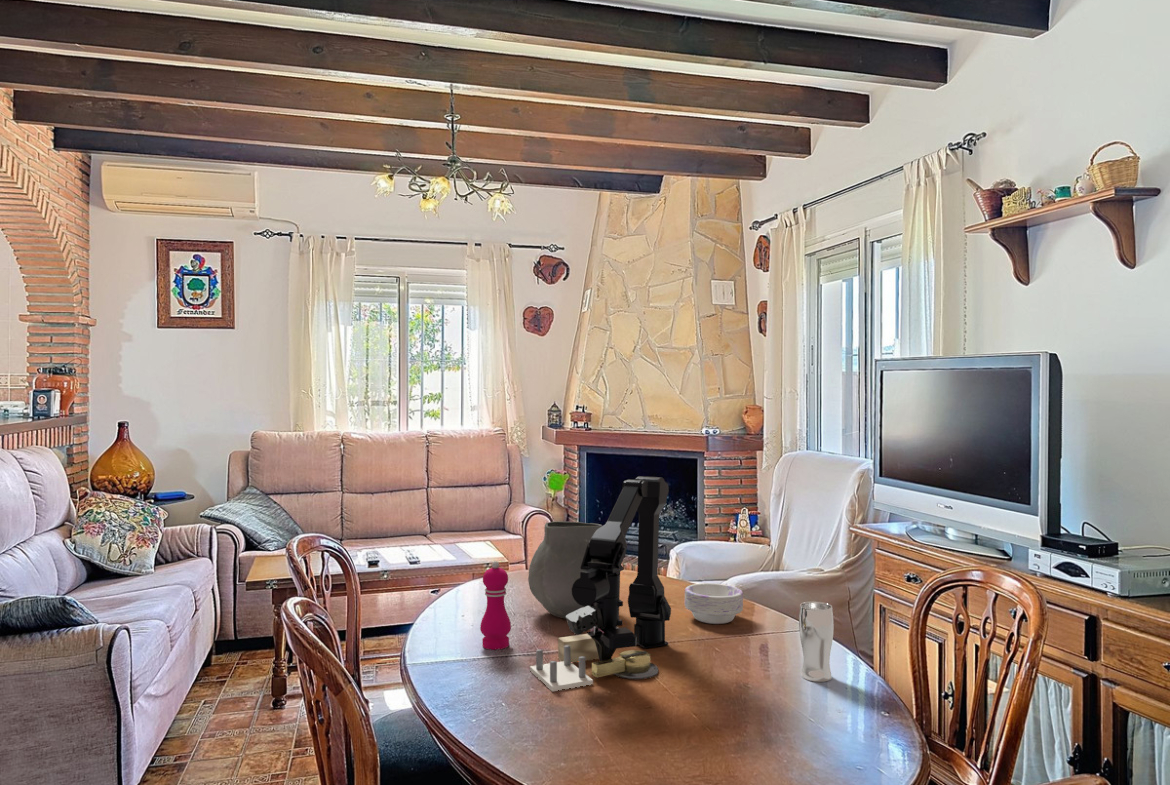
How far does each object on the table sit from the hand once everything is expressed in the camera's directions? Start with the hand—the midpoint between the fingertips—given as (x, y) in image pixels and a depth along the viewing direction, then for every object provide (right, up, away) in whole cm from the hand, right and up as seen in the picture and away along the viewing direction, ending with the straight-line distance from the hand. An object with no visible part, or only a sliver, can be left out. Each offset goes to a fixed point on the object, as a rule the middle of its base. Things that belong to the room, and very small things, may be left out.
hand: (603, 667), depth 169 cm
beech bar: (-5, -1, +10) cm, 11 cm away
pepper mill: (-25, -2, +19) cm, 32 cm away
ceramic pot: (-7, -2, +44) cm, 45 cm away
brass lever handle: (+4, 0, 0) cm, 4 cm away
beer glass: (+45, -1, -3) cm, 45 cm away
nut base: (+7, -1, +1) cm, 7 cm away
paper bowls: (+30, -1, +40) cm, 50 cm away
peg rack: (-9, -1, -2) cm, 10 cm away
